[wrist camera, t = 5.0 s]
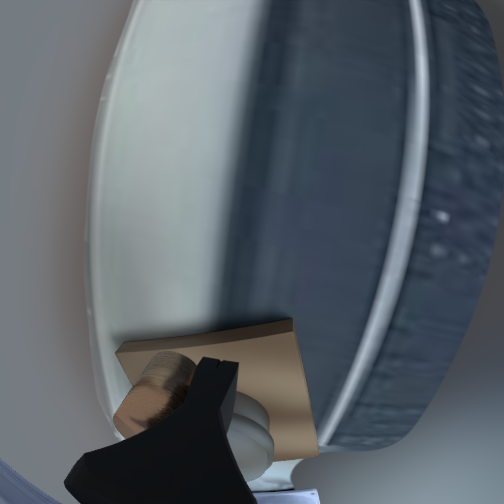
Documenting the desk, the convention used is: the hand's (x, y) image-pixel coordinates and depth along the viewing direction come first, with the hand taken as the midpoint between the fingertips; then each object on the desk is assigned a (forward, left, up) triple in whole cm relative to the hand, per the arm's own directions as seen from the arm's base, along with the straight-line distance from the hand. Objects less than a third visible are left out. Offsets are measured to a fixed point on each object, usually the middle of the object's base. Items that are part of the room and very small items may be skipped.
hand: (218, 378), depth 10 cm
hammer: (-4, +3, -1) cm, 5 cm away
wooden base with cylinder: (-8, +3, -6) cm, 11 cm away
